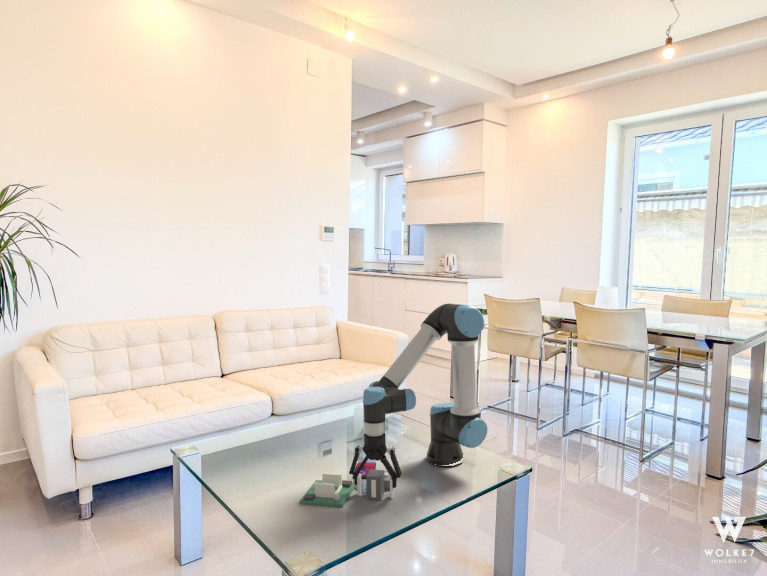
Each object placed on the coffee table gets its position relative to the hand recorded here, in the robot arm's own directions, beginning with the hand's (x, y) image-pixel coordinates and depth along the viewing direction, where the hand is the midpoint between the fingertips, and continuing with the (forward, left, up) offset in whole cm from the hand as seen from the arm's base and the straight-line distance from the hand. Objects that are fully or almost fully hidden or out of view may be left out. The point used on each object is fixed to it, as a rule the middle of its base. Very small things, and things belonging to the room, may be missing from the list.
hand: (375, 495), depth 167 cm
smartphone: (+9, -20, -1) cm, 22 cm away
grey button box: (-1, -10, 0) cm, 10 cm away
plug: (0, 0, 0) cm, 0 cm away
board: (+16, +2, 0) cm, 17 cm away
